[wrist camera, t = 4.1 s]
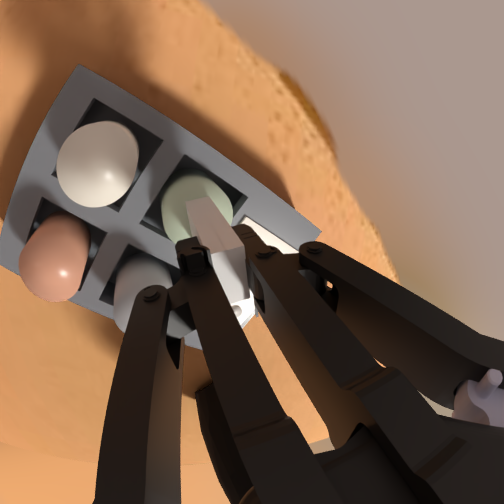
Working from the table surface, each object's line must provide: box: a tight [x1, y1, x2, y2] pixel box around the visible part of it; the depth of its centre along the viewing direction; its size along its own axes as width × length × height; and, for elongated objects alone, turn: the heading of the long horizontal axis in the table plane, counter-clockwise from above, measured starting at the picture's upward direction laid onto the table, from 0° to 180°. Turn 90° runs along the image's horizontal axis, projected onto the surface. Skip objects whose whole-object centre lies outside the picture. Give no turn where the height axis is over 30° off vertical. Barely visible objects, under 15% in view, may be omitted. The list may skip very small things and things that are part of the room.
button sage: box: [160, 168, 233, 244], centre depth 19 cm, size 4×4×4 cm
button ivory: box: [56, 120, 139, 208], centre depth 14 cm, size 4×4×4 cm
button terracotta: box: [18, 211, 92, 302], centre depth 15 cm, size 4×4×4 cm
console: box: [0, 64, 322, 350], centre depth 20 cm, size 22×15×5 cm
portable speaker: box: [195, 383, 253, 504], centre depth 28 cm, size 9×9×20 cm
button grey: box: [113, 253, 173, 333], centre depth 19 cm, size 4×4×4 cm
